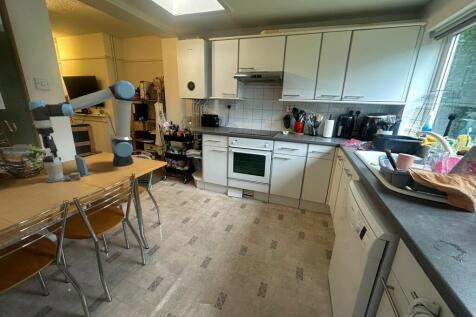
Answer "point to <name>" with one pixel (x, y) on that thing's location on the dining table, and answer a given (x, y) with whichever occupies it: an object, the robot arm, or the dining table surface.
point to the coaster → (57, 180)
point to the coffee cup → (53, 168)
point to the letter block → (75, 176)
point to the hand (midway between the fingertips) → (53, 159)
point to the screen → (81, 166)
